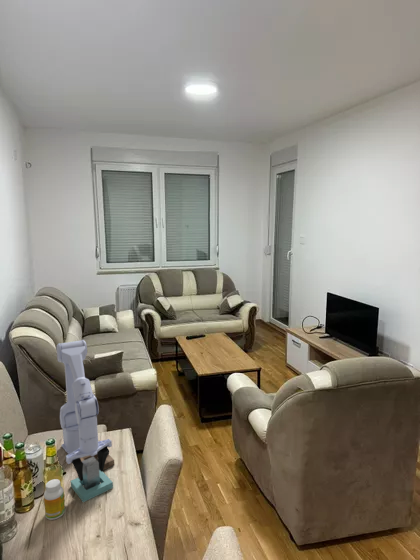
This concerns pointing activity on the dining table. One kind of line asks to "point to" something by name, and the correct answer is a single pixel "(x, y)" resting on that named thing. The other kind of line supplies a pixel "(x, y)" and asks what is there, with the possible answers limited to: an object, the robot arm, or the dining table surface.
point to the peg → (90, 473)
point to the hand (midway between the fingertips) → (91, 474)
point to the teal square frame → (94, 491)
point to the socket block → (108, 462)
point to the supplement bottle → (54, 500)
